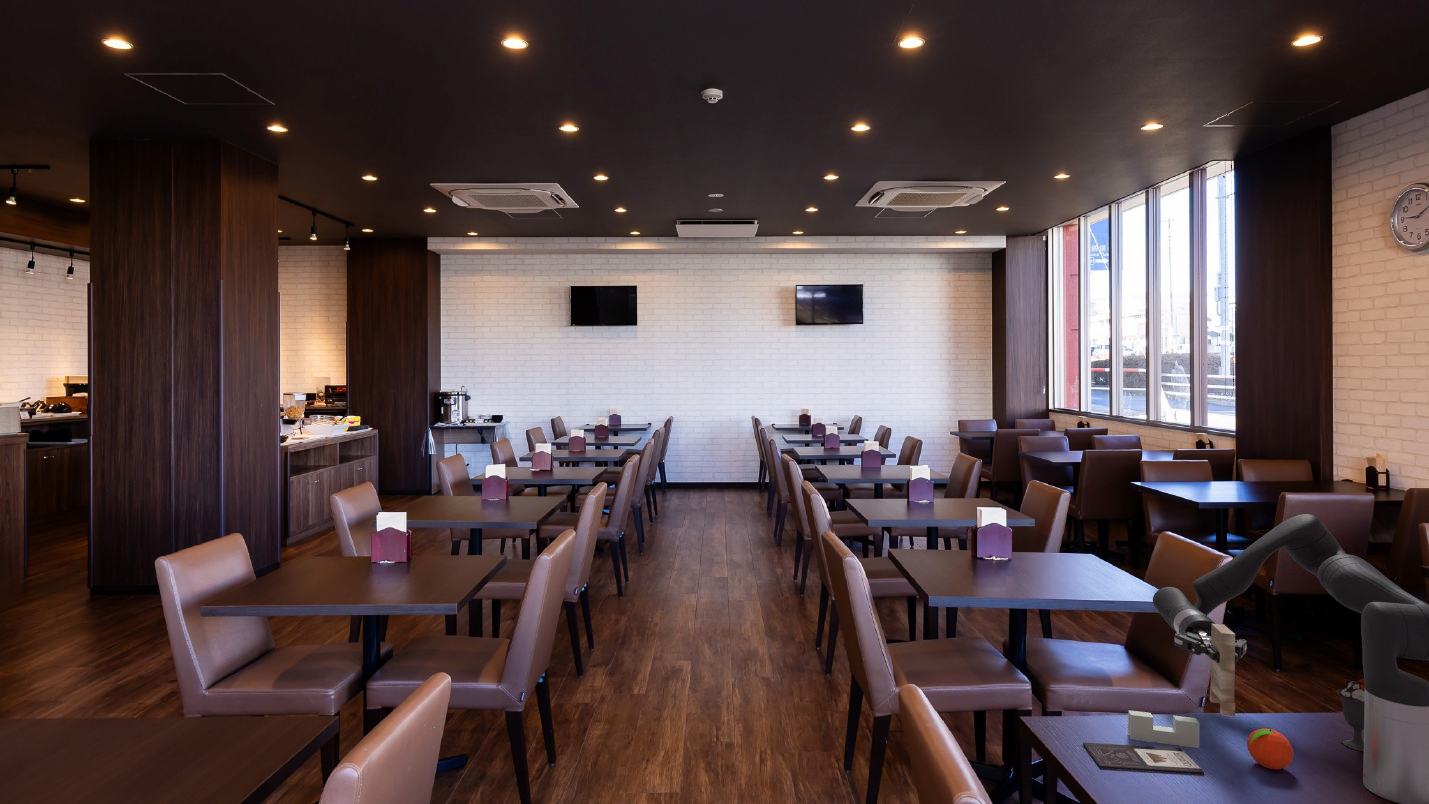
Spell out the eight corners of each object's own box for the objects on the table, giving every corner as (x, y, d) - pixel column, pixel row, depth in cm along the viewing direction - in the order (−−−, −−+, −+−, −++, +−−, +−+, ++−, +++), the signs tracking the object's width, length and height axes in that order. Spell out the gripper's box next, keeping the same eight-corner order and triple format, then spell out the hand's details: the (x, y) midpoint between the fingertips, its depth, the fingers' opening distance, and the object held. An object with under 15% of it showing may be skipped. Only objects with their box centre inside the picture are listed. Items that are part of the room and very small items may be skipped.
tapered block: (1222, 701, 150) (1223, 623, 149) (1235, 716, 143) (1236, 635, 142) (1209, 700, 150) (1210, 622, 150) (1221, 715, 144) (1222, 634, 143)
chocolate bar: (1082, 742, 146) (1180, 748, 144) (1082, 747, 146) (1180, 752, 144) (1100, 765, 137) (1204, 772, 135) (1100, 770, 137) (1204, 777, 135)
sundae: (1377, 758, 140) (1379, 680, 140) (1332, 745, 145) (1333, 670, 145) (1383, 747, 145) (1384, 671, 144) (1339, 734, 150) (1340, 662, 149)
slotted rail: (1195, 742, 147) (1195, 718, 147) (1199, 748, 145) (1199, 723, 144) (1128, 734, 150) (1128, 710, 150) (1130, 739, 148) (1130, 714, 148)
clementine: (1266, 779, 133) (1267, 740, 133) (1232, 760, 140) (1233, 723, 140) (1303, 774, 135) (1303, 736, 135) (1267, 755, 142) (1268, 719, 141)
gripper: (1234, 651, 159) (1267, 681, 142) (1161, 644, 163) (1185, 673, 147) (1234, 616, 159) (1267, 643, 142) (1162, 611, 163) (1185, 636, 147)
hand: (1225, 658), depth 145 cm, fingers closed on tapered block, 2 cm apart
